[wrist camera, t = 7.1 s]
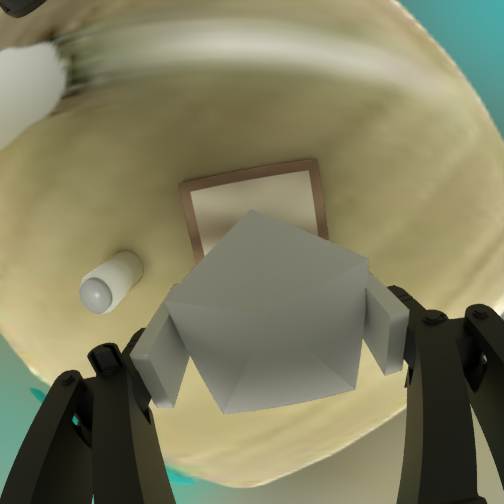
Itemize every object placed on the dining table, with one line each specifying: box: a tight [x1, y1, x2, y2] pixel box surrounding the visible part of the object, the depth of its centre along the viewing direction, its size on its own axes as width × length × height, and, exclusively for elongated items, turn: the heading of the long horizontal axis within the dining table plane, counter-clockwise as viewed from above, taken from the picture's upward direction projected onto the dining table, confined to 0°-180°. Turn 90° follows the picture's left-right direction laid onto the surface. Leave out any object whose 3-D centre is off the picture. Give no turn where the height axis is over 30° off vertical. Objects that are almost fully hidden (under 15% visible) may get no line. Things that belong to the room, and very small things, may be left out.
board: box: [178, 158, 329, 264], centre depth 27 cm, size 13×13×2 cm
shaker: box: [79, 251, 143, 314], centre depth 25 cm, size 4×4×8 cm
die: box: [164, 209, 368, 414], centre depth 13 cm, size 8×9×10 cm
